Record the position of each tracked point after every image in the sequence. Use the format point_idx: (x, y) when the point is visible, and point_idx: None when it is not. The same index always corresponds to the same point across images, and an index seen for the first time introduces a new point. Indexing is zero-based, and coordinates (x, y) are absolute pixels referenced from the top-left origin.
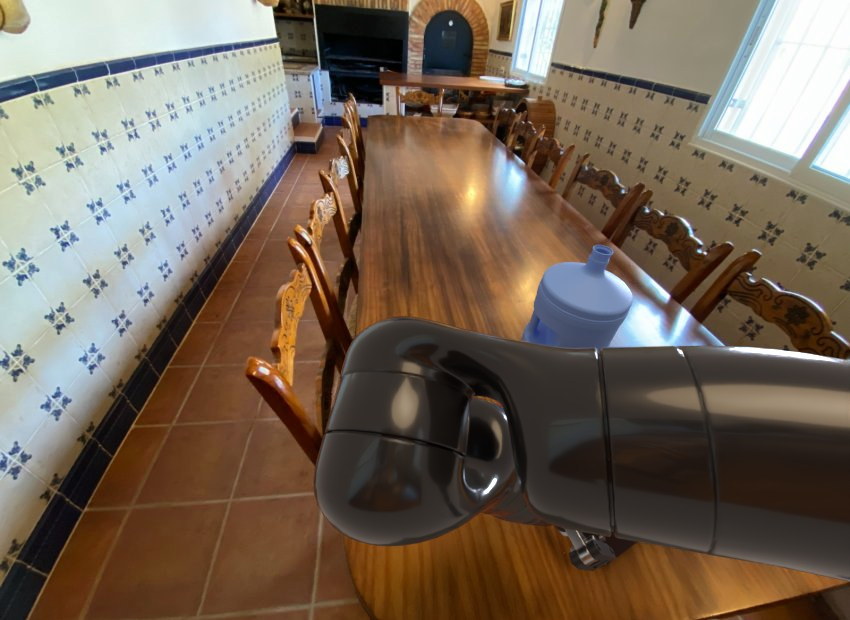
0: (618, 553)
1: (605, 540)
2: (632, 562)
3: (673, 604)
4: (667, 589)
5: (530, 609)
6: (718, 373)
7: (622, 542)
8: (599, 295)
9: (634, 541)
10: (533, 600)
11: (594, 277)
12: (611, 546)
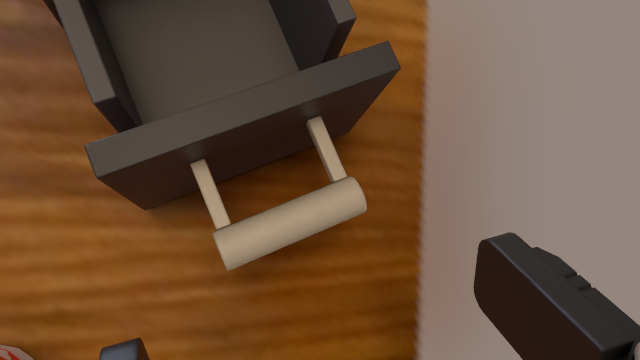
0: (363, 110)
1: (559, 259)
2: None
3: (415, 27)
4: (390, 22)
5: (414, 348)
6: None
7: (366, 97)
8: None
9: (394, 72)
10: (398, 335)
11: None
12: (343, 119)
